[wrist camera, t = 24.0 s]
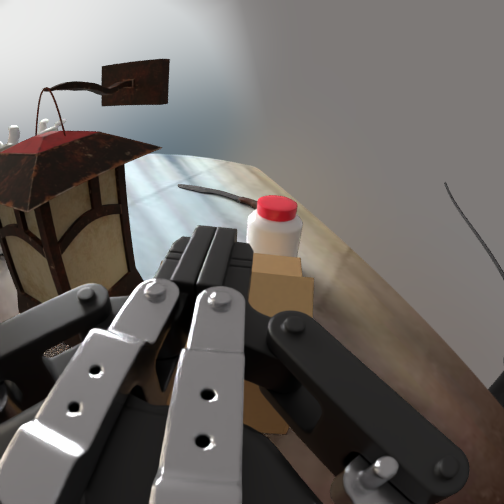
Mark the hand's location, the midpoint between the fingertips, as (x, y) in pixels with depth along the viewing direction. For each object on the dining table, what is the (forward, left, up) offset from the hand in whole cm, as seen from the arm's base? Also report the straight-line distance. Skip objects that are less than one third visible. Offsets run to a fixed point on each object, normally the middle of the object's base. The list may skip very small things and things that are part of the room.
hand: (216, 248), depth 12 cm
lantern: (-2, -28, -21) cm, 36 cm away
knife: (-37, -42, -21) cm, 60 cm away
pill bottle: (-25, -16, -21) cm, 36 cm away
